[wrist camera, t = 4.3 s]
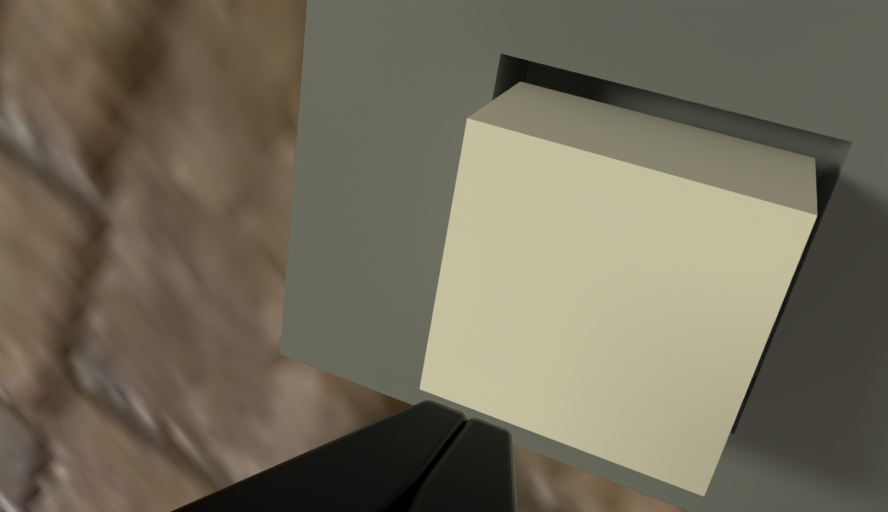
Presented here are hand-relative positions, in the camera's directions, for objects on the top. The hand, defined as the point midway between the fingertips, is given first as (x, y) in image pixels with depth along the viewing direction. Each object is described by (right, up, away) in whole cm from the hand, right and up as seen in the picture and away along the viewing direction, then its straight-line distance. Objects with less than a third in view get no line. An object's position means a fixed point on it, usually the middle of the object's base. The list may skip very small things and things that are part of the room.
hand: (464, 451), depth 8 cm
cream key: (+3, +2, +7) cm, 8 cm away
